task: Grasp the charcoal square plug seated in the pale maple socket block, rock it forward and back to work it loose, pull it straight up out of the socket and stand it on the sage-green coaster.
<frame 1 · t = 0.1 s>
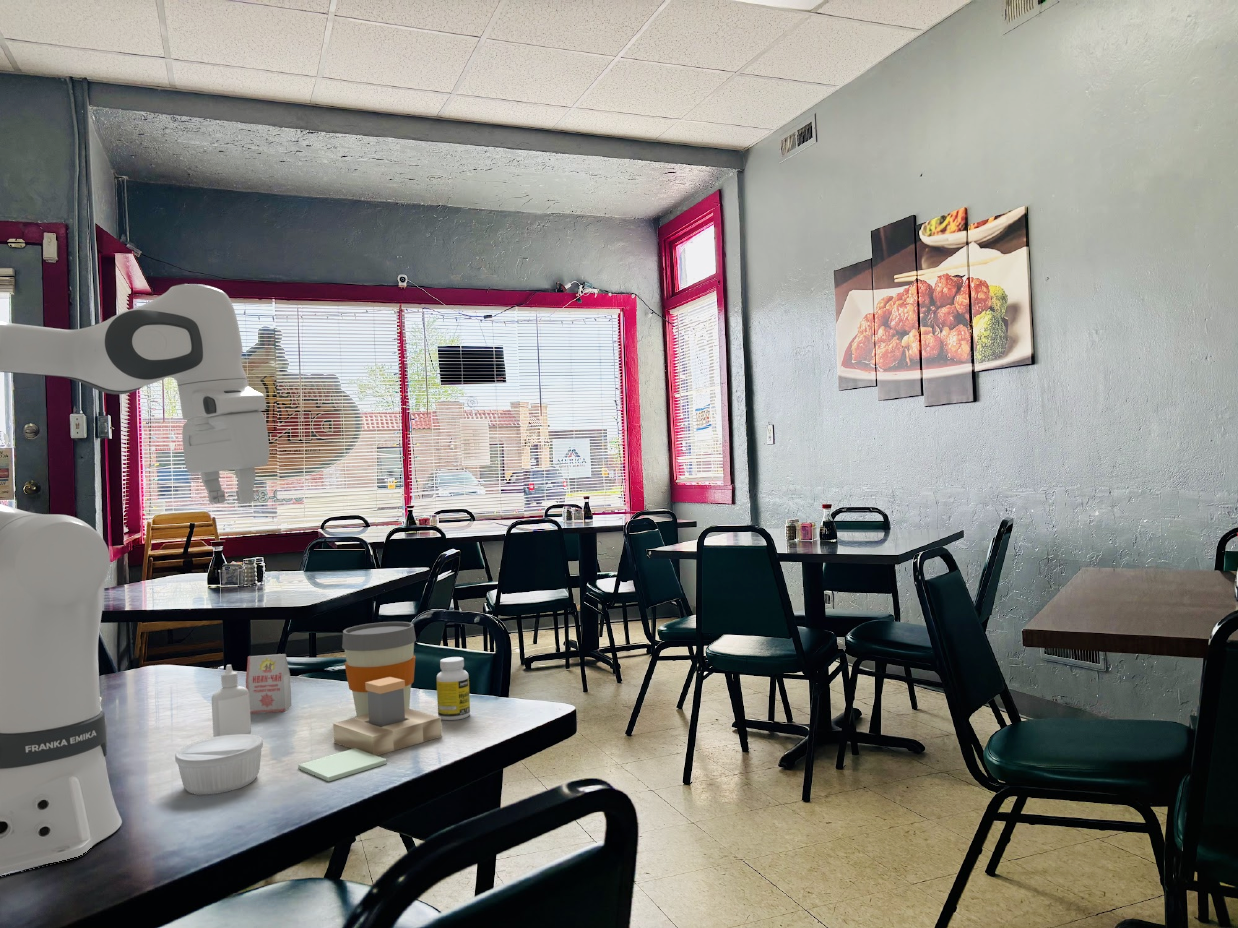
hand: (231, 503, 124), 39 cm above the table, tool pointing down, fingers open, 8 cm apart
plug: (386, 710, 141), in the socket block
supplement bottle: (454, 717, 152), on the table
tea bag: (269, 710, 164), on the table
coaster: (342, 765, 129), on the table
ramekin: (221, 784, 125), on the table
eye dropper bottle: (232, 739, 147), on the table
socket block: (388, 739, 141), on the table
reusable coffee cup: (383, 714, 157), on the table
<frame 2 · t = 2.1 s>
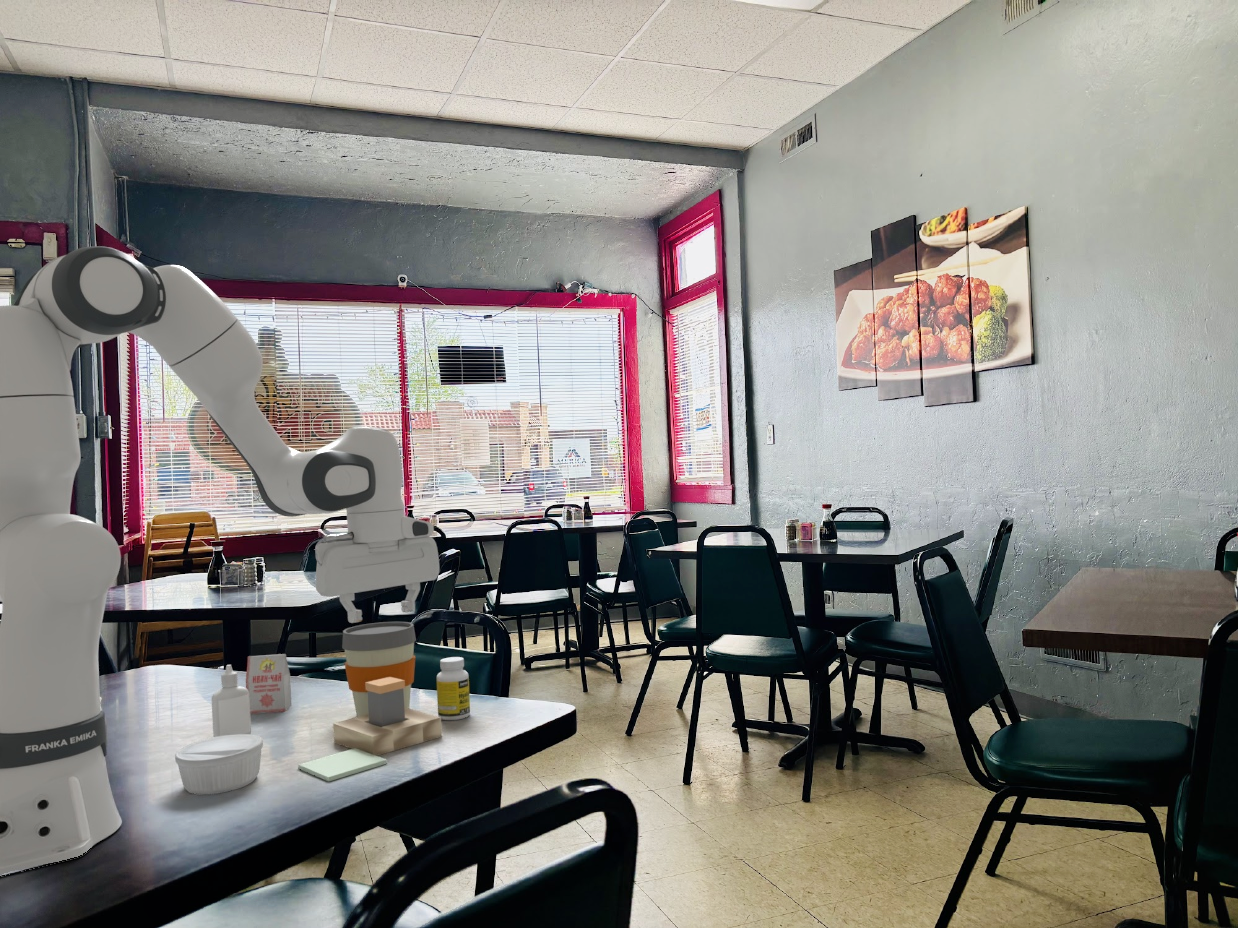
hand: (382, 616, 141), 19 cm above the table, tool pointing down, fingers open, 8 cm apart
nothing on the table moved.
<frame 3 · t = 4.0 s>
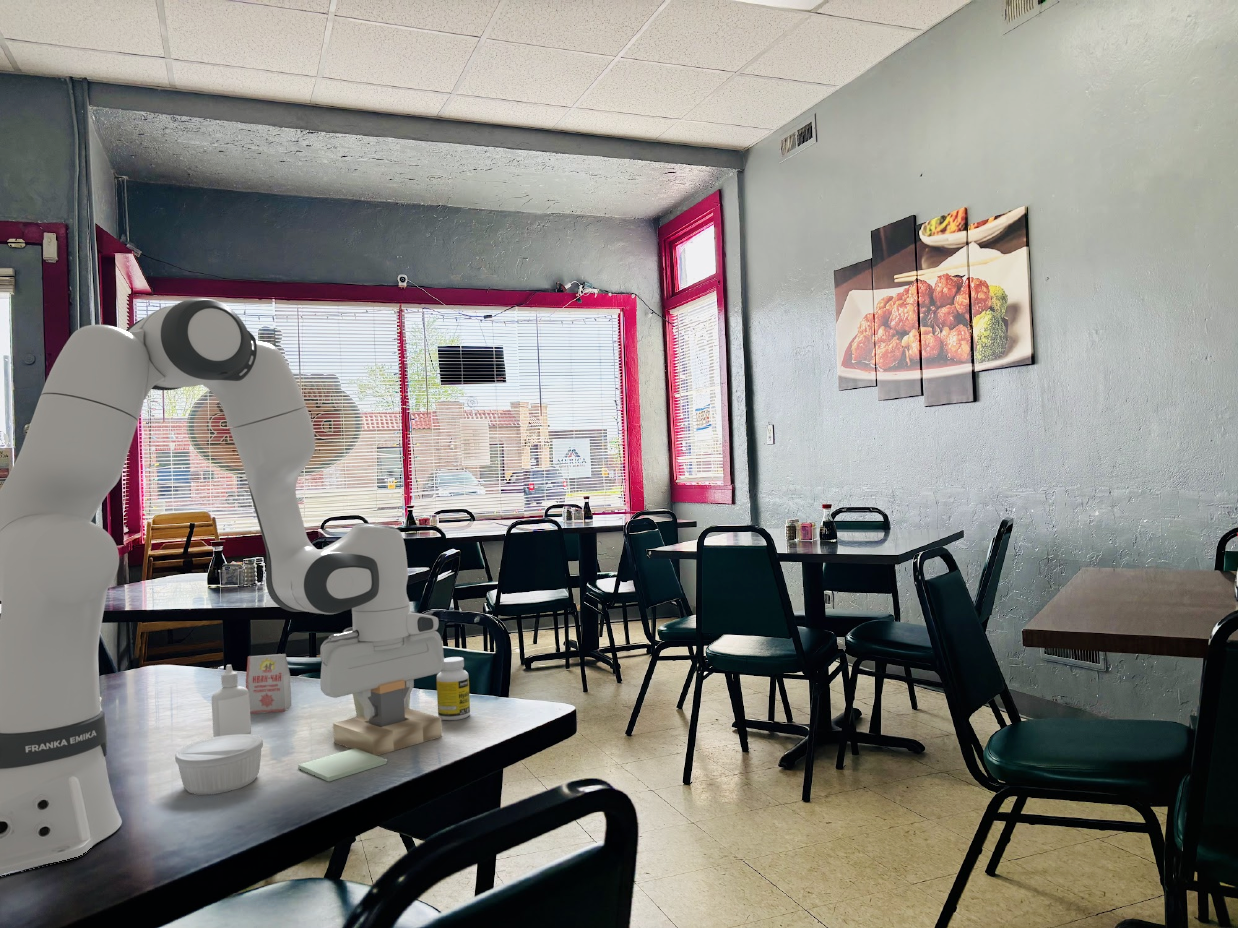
hand: (386, 713, 141), 4 cm above the table, tool pointing down, fingers closed on plug, 4 cm apart
plug: (386, 710, 141), in the socket block, touching gripper
everything else where it was.
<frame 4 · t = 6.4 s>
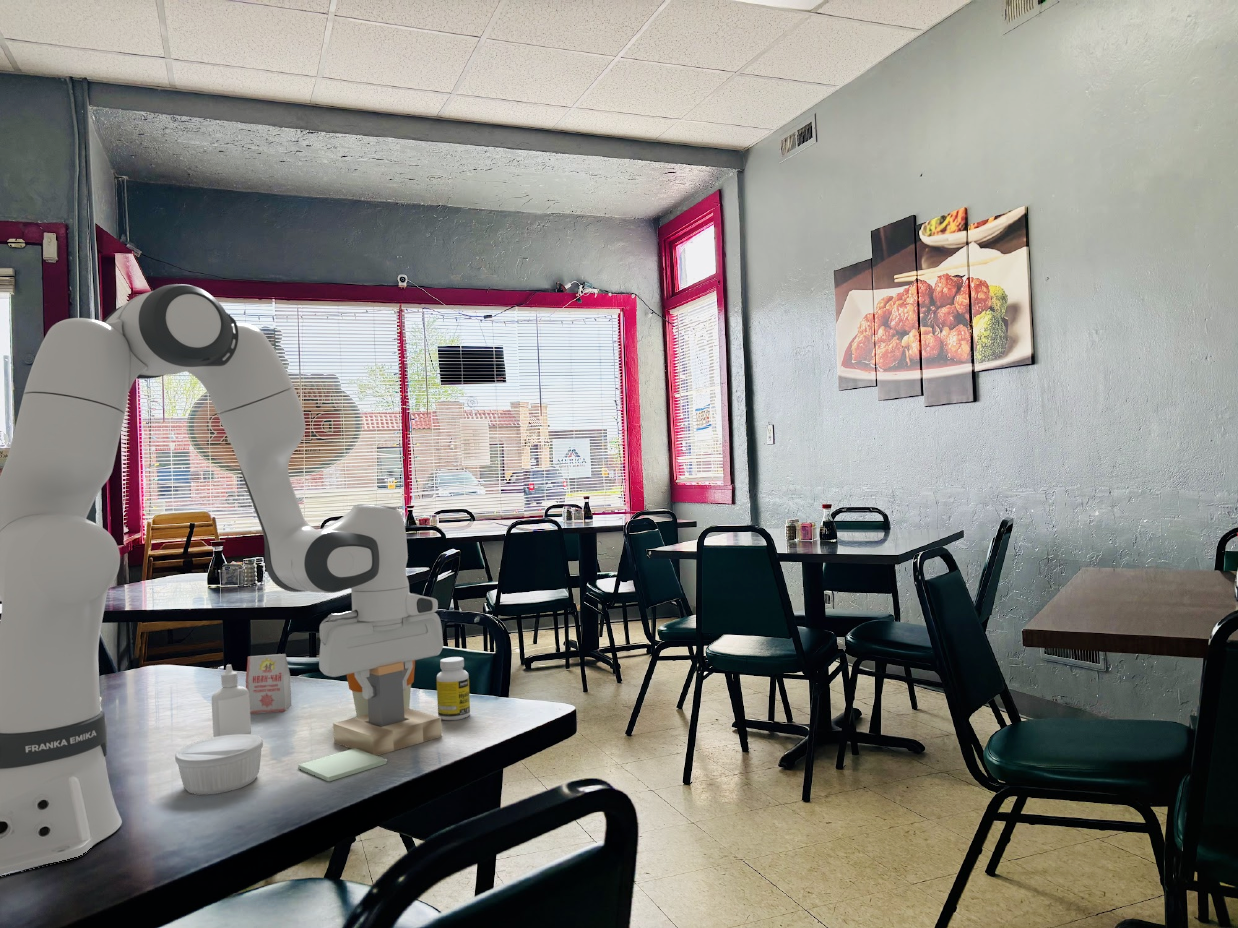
hand: (385, 694, 141), 7 cm above the table, tool pointing down, fingers closed on plug, 4 cm apart
plug: (385, 692, 141), point 7 cm above the table, touching gripper
everything else where it was.
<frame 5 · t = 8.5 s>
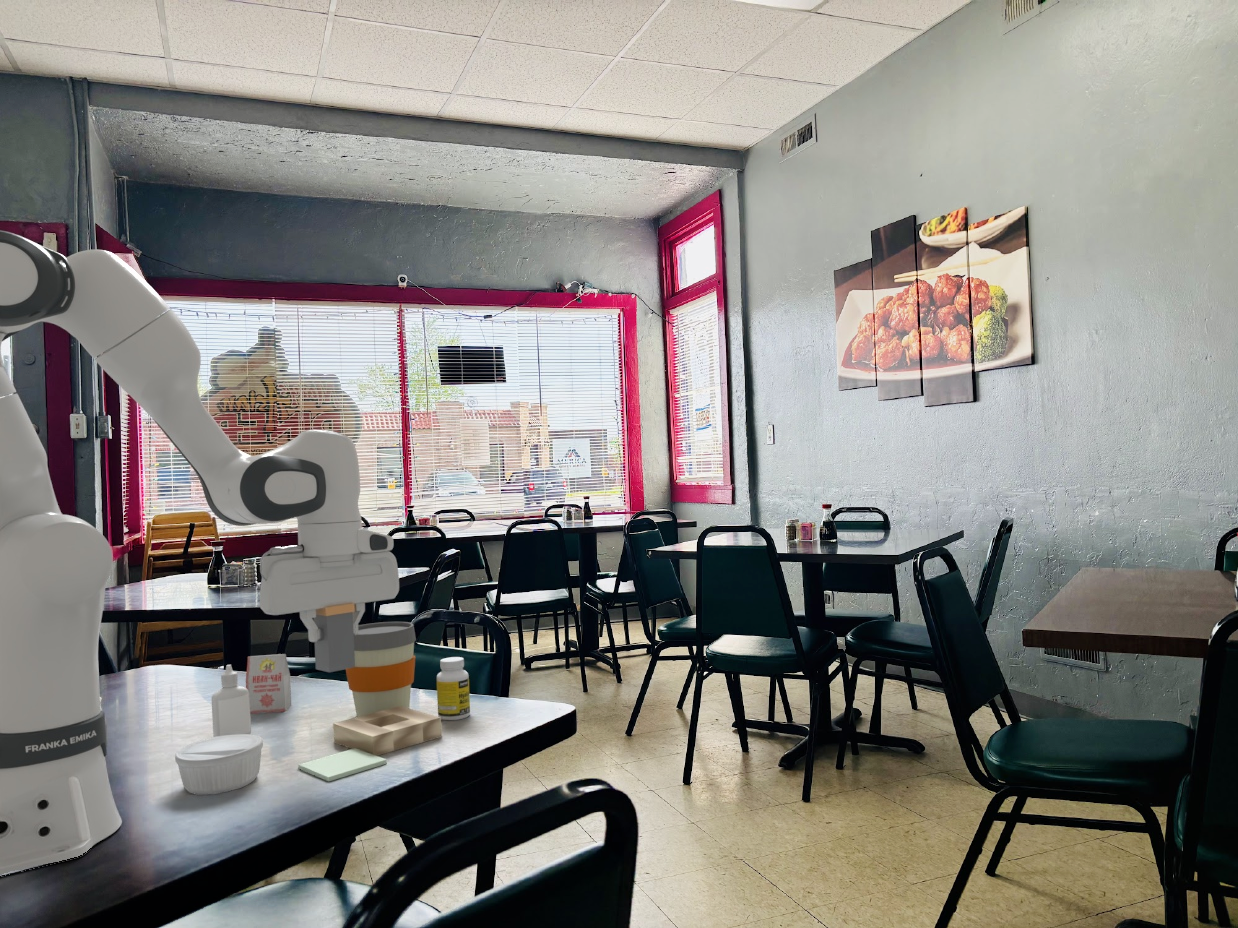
hand: (334, 638, 129), 18 cm above the table, tool pointing down, fingers closed on plug, 4 cm apart
plug: (334, 636, 129), point 19 cm above the table, touching gripper
everything else where it was.
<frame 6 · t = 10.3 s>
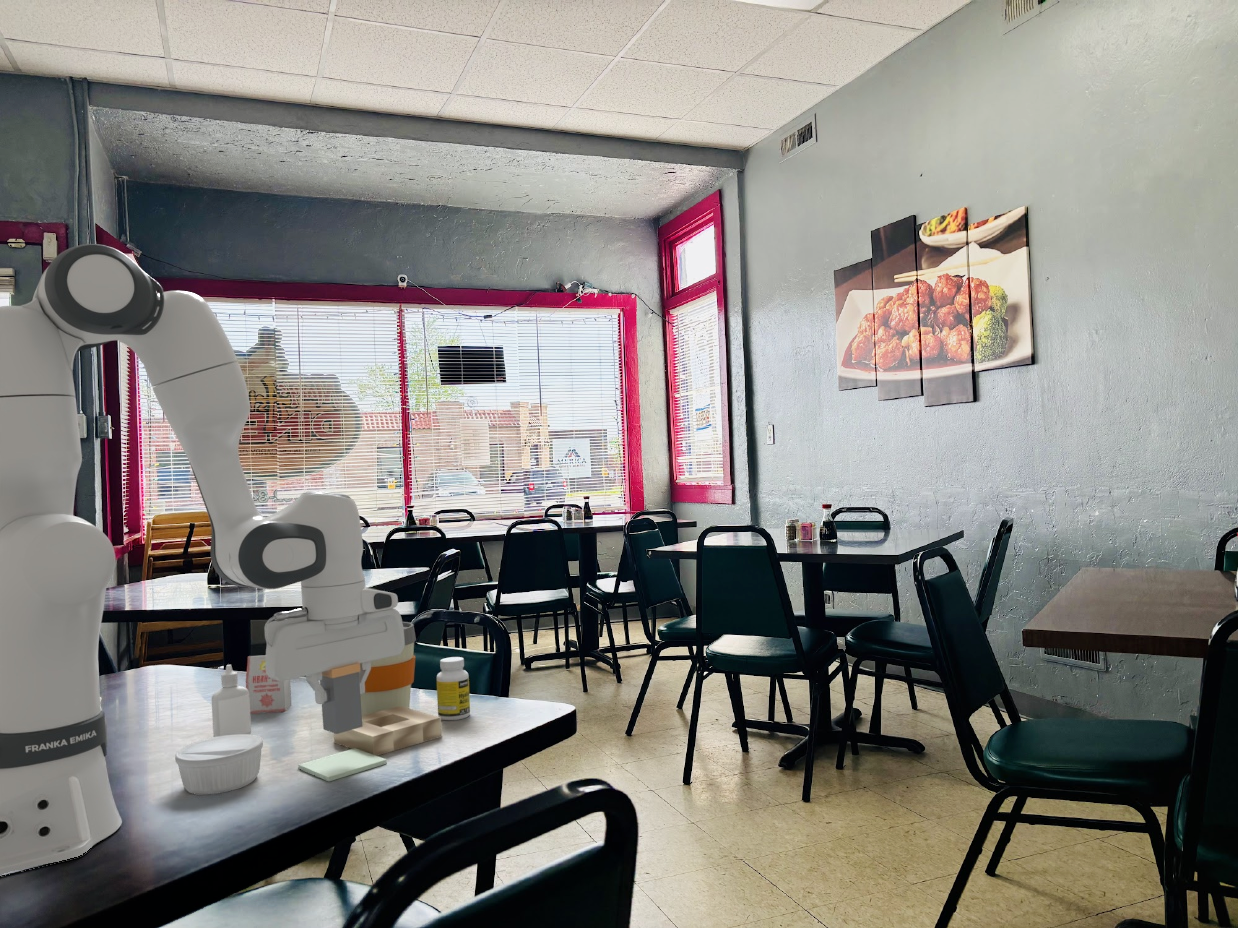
hand: (340, 698, 129), 10 cm above the table, tool pointing down, fingers closed on plug, 4 cm apart
plug: (340, 696, 129), point 10 cm above the table, touching gripper
everything else where it was.
when the fingers open (5 cm above the table, at t = 11.6 s): plug stays where it is, resting on coaster.
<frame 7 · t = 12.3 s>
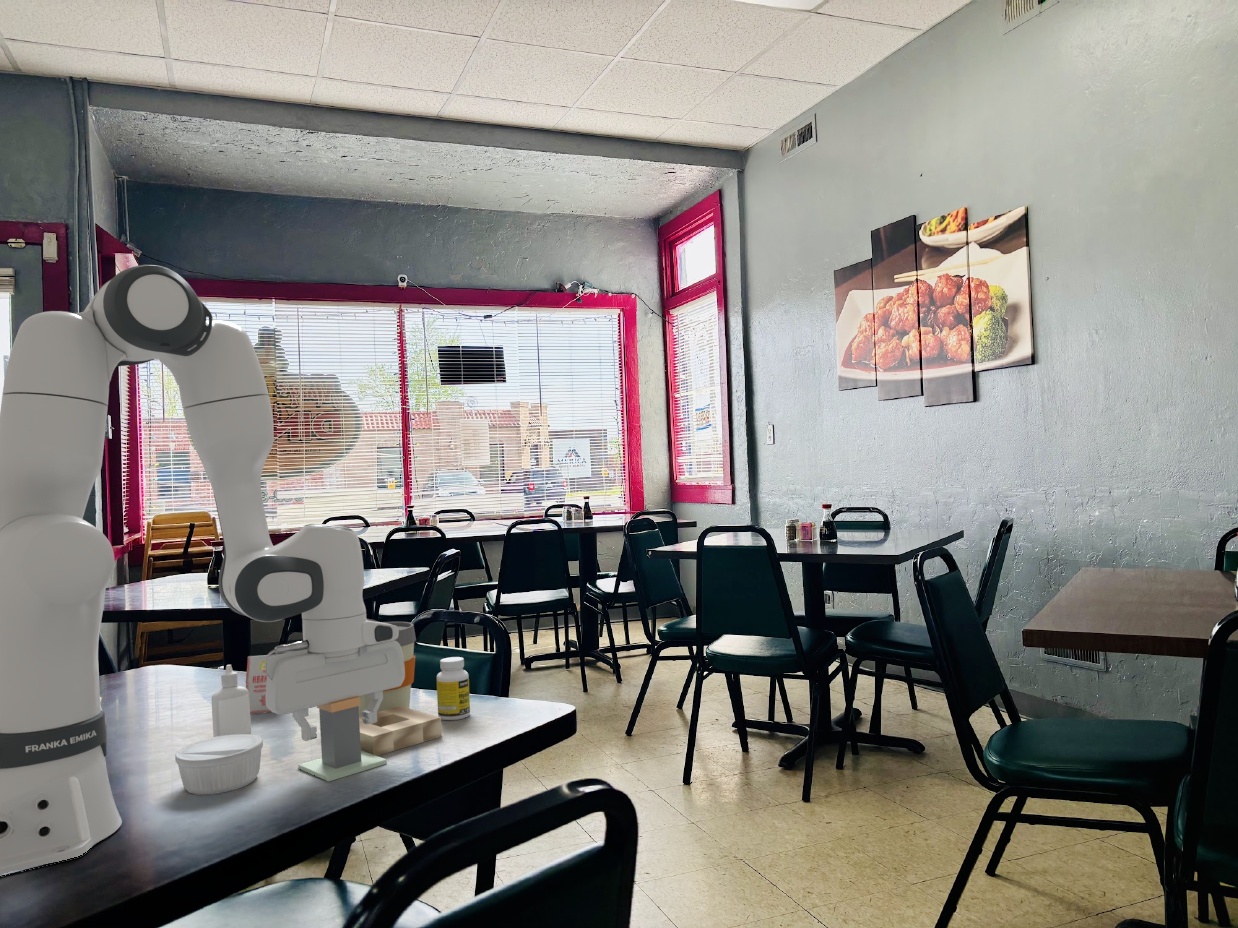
hand: (340, 730, 129), 5 cm above the table, tool pointing down, fingers open, 8 cm apart
plug: (340, 730, 129), on the coaster, point 5 cm above the table
everything else where it was.
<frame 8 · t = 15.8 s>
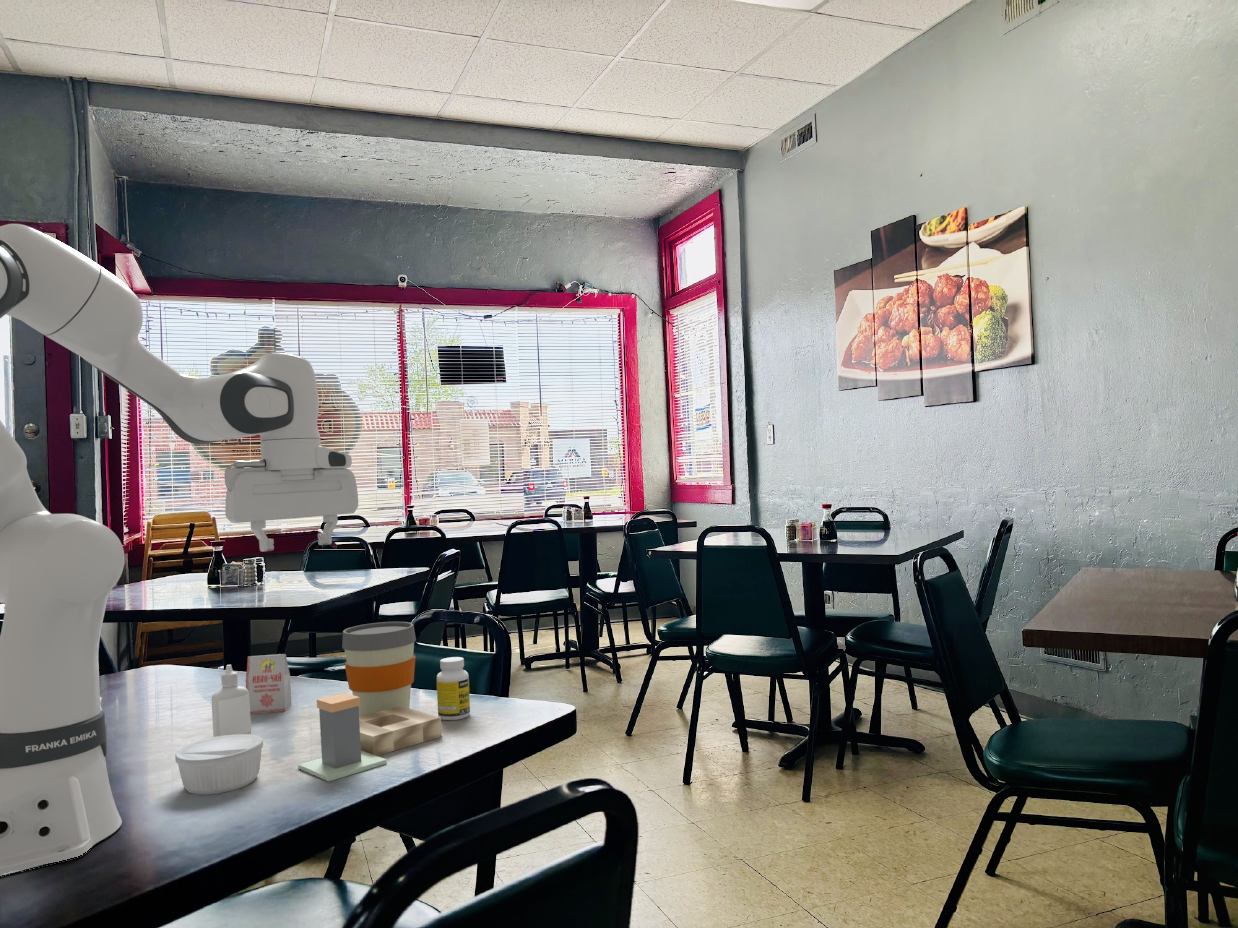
hand: (296, 547, 139), 31 cm above the table, tool pointing down, fingers open, 8 cm apart
nothing on the table moved.
at the end: plug inside the target area on the coaster (0.1 cm from its centre), point 5.2 cm above the coaster's base; plug tilted 0°; the gripper is holding nothing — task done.
